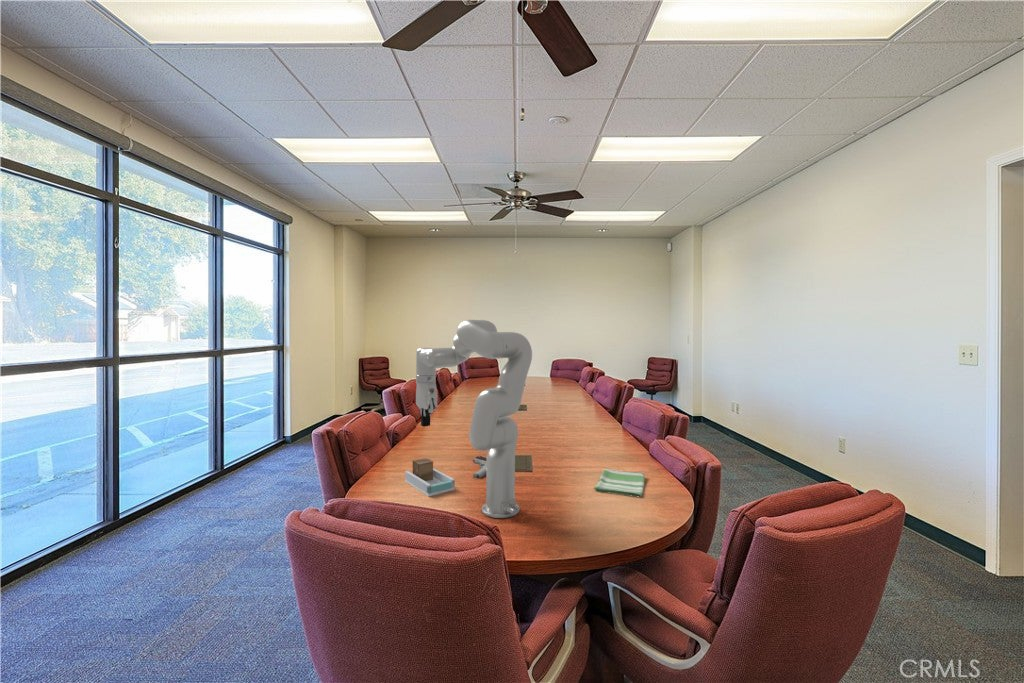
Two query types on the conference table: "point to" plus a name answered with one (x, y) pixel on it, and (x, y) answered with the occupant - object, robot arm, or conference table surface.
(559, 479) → the conference table surface
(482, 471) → the pistol
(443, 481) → the bay
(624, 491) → the dish towel
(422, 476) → the block
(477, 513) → the conference table surface
